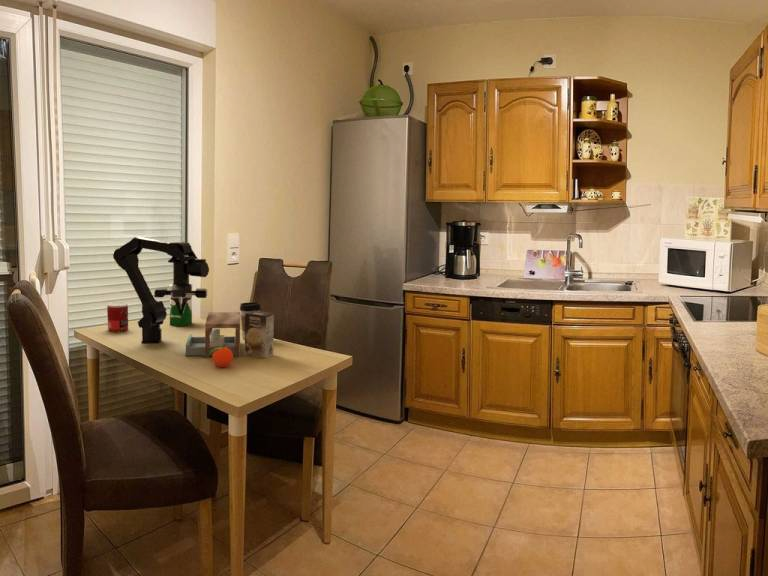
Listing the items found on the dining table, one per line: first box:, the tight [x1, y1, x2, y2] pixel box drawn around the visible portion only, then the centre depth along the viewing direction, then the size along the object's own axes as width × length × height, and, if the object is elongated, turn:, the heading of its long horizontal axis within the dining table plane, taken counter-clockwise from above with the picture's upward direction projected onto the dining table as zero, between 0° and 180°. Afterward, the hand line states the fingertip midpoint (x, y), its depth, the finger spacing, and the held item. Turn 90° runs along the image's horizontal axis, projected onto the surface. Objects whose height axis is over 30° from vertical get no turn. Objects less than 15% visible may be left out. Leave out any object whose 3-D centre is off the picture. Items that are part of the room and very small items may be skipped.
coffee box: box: [244, 310, 275, 359], centre depth 214 cm, size 9×6×16 cm
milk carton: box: [167, 283, 193, 327], centre depth 257 cm, size 9×9×20 cm
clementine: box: [210, 347, 234, 368], centre depth 198 cm, size 8×7×7 cm
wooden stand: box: [204, 311, 241, 359], centre depth 219 cm, size 12×21×12 cm, turn 14°
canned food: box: [106, 302, 129, 333], centre depth 242 cm, size 8×8×11 cm
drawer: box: [185, 333, 235, 356], centre depth 219 cm, size 18×16×4 cm
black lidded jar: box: [239, 302, 261, 341], centre depth 237 cm, size 8×8×15 cm
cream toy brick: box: [210, 328, 225, 346], centre depth 219 cm, size 6×9×6 cm, turn 11°
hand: (181, 314), depth 223 cm, fingers closed
